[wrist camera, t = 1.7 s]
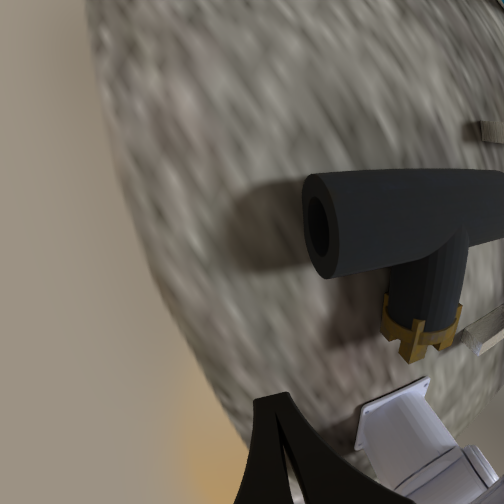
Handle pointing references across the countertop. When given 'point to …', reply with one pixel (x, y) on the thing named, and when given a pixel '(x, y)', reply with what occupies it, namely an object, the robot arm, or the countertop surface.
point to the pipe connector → (405, 240)
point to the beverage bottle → (501, 2)
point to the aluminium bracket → (500, 320)
